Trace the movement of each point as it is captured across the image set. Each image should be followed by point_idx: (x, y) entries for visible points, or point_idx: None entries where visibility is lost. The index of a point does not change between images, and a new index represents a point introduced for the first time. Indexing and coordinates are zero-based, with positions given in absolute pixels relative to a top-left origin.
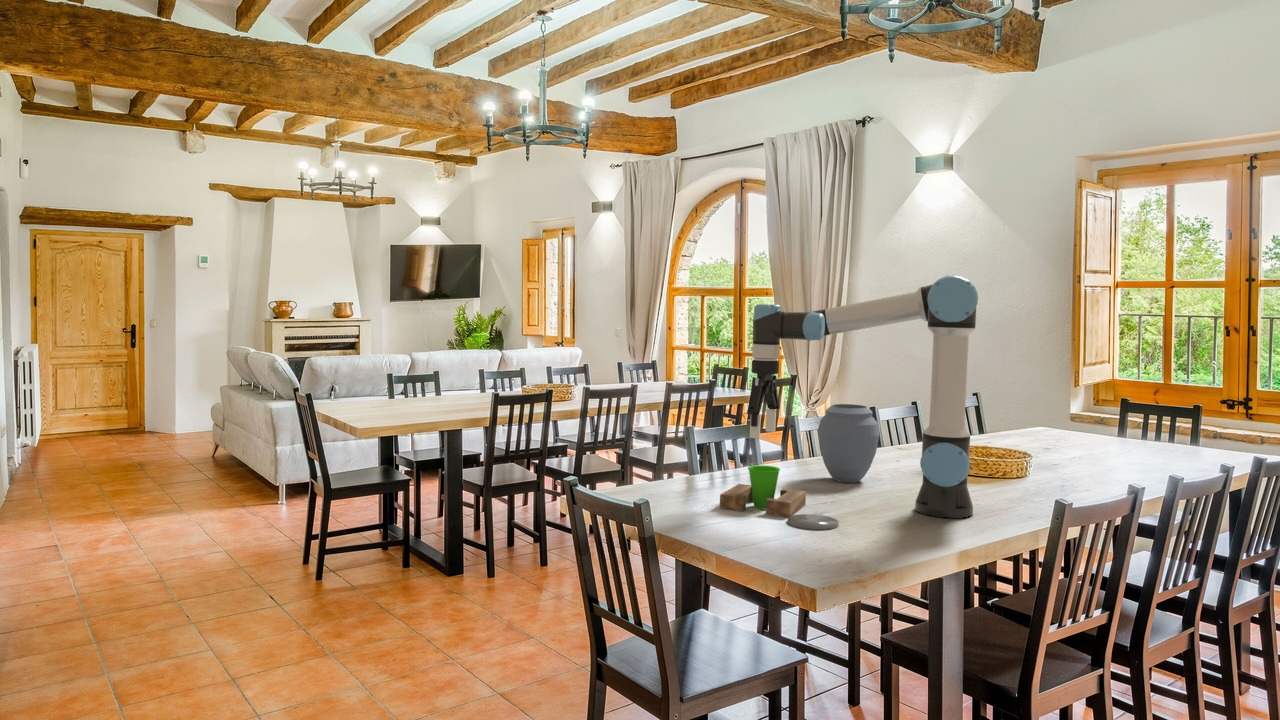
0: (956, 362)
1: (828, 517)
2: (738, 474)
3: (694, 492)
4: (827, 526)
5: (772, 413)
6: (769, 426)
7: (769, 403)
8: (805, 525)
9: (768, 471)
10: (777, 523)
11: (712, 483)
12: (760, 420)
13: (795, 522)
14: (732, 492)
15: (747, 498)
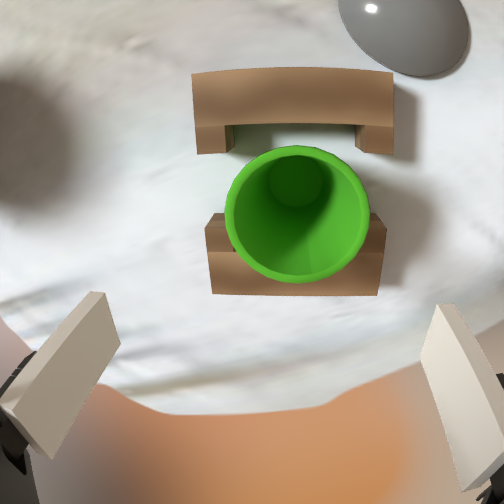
0: None
1: None
2: (40, 326)
3: (233, 365)
4: None
5: (41, 402)
6: (97, 346)
7: (23, 488)
8: (464, 27)
9: (360, 182)
10: (451, 99)
11: (132, 354)
12: (490, 401)
13: (453, 52)
14: (338, 275)
15: None
